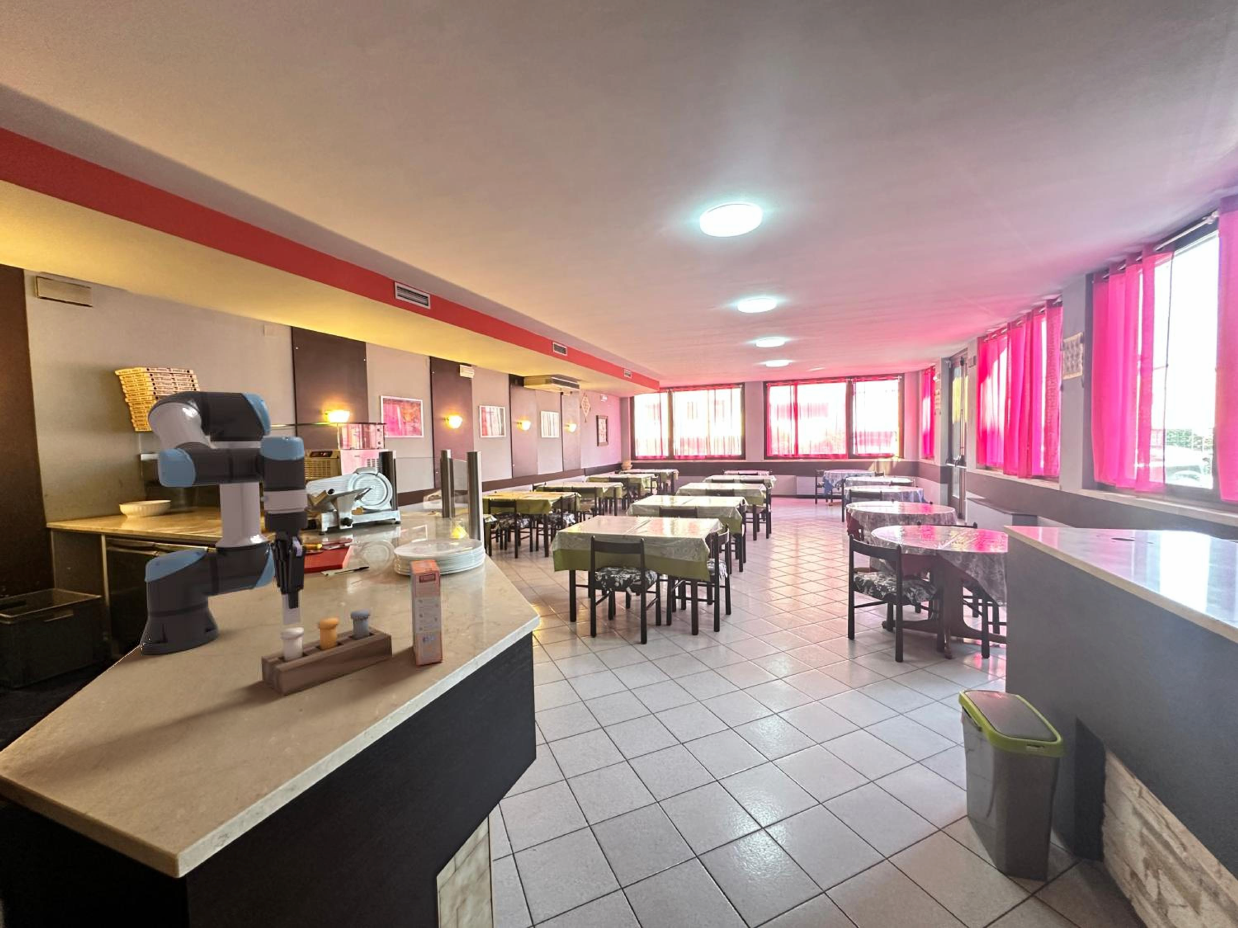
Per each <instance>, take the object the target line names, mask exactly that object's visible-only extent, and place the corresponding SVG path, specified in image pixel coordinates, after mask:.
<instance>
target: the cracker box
mask: <svg viewBox="0 0 1238 928" xmlns="http://www.w3.org/2000/svg"><path fill="white" fill-rule="evenodd" d="M409 564H410V565H409V568H410V570H409V571H410V572H409V573H410V594H411V595H410V596H411V601H410V602H411V624H412V625H411V627H412V628H411V630H412V631H411V632H412V647H413V648H412V649H413V653H414V658H415V659H414V660H415V664H416V666H417V667H419V666H424V665H428V664H434V663H439V662H443V660H444V659H443V658H444V657H443V653H444V652H443V627H442V624H443V623H442V598H441V596H442V595H441V594H442V593H441V592H442V591H441V570H440V568H439V566H438V565H437V563H436V561H435V559H432V558H431V559H429V558H428V559H421V560H414V561H413V560H412V561H410V563H409Z"/></svg>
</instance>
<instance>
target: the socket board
mask: <svg viewBox="0 0 1238 928" xmlns="http://www.w3.org/2000/svg"><path fill="white" fill-rule="evenodd" d="M392 640H393V639H392V635H390V634H388V633H386V632H384V631H381V630H379V629H376V628H374V627H372V626H369V637H367V638H363V639H360V640H357V641H355V640H354V633H353V629H350V630H347V631H343V632H340V633H339V632H338V633H337V644H338V647H335V648H332V649H329V650H325V651H321V641H320V638H319V639H316V640H313V641H310V642H305V643H302V655H303V658H300V659H297V660H294V661H291V662H287V663H285V661H284V649H282V650H279V651H276V652H272V653H269V654H266V655H263V656H260V657H261V659H260V660H261V679H262V681H263V682H265V683H266V684H267V685H268V686H270V688H272V689H274V690H275V691H276V692H277V693H278V694H280V695H282V696H283V697H285V696H288V695H291V694H293V693H296V692H299V691H302V690H304V689H307V688H309V687H312V686H315V685H318V684H321V683H324V682H326V681H327V682H328V681H330V680H332V679H335V678H337V677H340V676H343V675H347V674H348V673H352V672H354V671H357V670H361V669H363V668H366V667H368V666H372V665H375V664H377V663H379V662H382V661H385V660H388V659H391V658H393V645H392V643H393V642H392Z"/></svg>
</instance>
